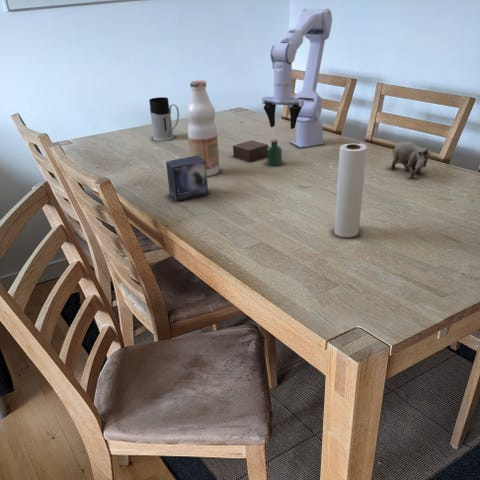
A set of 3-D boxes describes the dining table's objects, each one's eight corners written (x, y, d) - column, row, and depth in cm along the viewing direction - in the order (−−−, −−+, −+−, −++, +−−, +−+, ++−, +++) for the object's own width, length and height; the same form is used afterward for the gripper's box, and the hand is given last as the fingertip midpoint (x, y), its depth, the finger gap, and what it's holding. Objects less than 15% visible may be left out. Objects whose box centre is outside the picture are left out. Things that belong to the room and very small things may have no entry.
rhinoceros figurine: (405, 155, 167) (423, 123, 153) (422, 189, 163) (442, 159, 149) (384, 160, 166) (400, 128, 152) (400, 194, 161) (418, 165, 147)
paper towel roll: (342, 240, 123) (349, 151, 111) (329, 230, 128) (334, 145, 115) (367, 233, 125) (376, 146, 113) (353, 225, 130) (361, 140, 118)
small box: (176, 202, 149) (172, 166, 143) (169, 195, 153) (164, 161, 148) (209, 194, 152) (206, 160, 146) (200, 188, 157) (197, 154, 151)
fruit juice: (191, 177, 166) (181, 85, 150) (192, 168, 174) (183, 80, 158) (219, 176, 166) (213, 83, 150) (219, 167, 174) (213, 78, 158)
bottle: (278, 160, 177) (278, 137, 172) (284, 164, 173) (284, 140, 168) (265, 162, 175) (264, 139, 171) (270, 166, 171) (270, 142, 167)
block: (251, 151, 187) (251, 140, 185) (268, 155, 182) (268, 144, 179) (233, 156, 183) (232, 145, 181) (249, 161, 177) (249, 150, 175)
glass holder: (163, 134, 213) (158, 96, 205) (188, 138, 206) (184, 99, 198) (148, 139, 208) (142, 100, 199) (174, 143, 201) (169, 103, 192)
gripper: (257, 85, 165) (258, 128, 173) (298, 87, 159) (297, 131, 167) (266, 81, 170) (267, 123, 178) (306, 83, 164) (305, 126, 172)
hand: (282, 127), depth 173 cm, fingers open, 7 cm apart
